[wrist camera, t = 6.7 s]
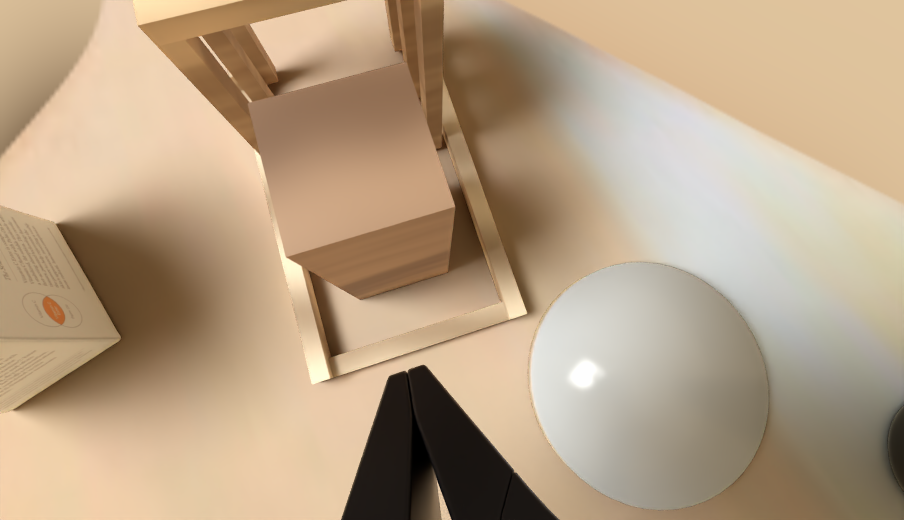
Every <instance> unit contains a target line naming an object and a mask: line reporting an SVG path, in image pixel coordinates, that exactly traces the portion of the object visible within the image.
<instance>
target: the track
mask: <svg viewBox="0 0 904 520" xmlns="http://www.w3.org/2000/svg"><path fill="white" fill-rule="evenodd" d="M227 71H228V69H227ZM228 75H229V77H230V78H231V79H232V80H233V82H234V83H235V84H236V86H237V87H238V88H239V89H240V91H241V92H242V93H243V95H244V96H245V97H246V98H247V100H248V101H249V102H252V101H251V99H250V98H249V97H248V95H247V94H246V93H245V91H244V90H243V89H242V88H241V86H240V85H239V84H238V82H237V81H236V80H235V78H234V77H233V76H232V75H231V73H230V72H229V71H228ZM442 134H443V137H444V139H445V142H446V145H447V148H448V151H449V154H450V157H451V160H452V163H453V165H454V168H455V171H456V174H457V177H458V180H459V183H460V186H461V189H462V192H463V194H464V197H465V200H466V203H467V206H468V209H469V212H470V215H471V218H472V220H473V223H474V226H475V229H476V232H477V235H478V238H479V241H480V244H481V246H482V249H483V252H484V255H485V258H486V261H487V264H488V267H489V270H490V272H491V275H492V278H493V281H494V284H495V287H496V290H497V293H498V296H499V298H500V301H501V302H500V303H497V304H494V305H491V306H488V307H485V308H482V309H479V310H476V311H473V312H470V313H466V314H463V315H460V316H457V317H454V318H451V319H448V320H445V321H442V322H439V323H436V324H433V325H429V326H426V327H423V328H420V329H417V330H414V331H411V332H408V333H405V334H402V335H399V336H395V337H392V338H389V339H386V340H383V341H380V342H377V343H374V344H371V345H368V346H365V347H362V348H358V349H355V350H352V351H349V352H346V353H343V354H340V355H337V356H334V357H331V355H330V351H329V348H328V344H327V340H326V336H325V332H324V328H323V324H322V320H321V317H320V313H319V309H318V305H317V301H316V297H315V293H314V290H313V286H312V282H311V278H310V274H309V270H307V269H305V268H304V267H302V266H300V265H298V264H297V263H295V262H293V261H291V260H290V259H288V258H286V256H285V252H284V248H283V244H282V240H281V236H280V232H279V228H278V224H277V220H276V216H275V212H274V208H273V204H272V200H271V196H270V192H269V188H268V184H267V180H266V176H265V172H264V168H263V164H262V160H261V156H260V155H259V153H258V152H257V151H256V150H255V149H254V151H255V155H256V159H257V163H258V167H259V171H260V175H261V180H262V184H263V188H264V192H265V196H266V200H267V204H268V208H269V212H270V216H271V220H272V224H273V228H274V232H275V236H276V240H277V244H278V248H279V252H280V256H281V261H282V265H283V269H284V273H285V277H286V281H287V285H288V289H289V293H290V297H291V301H292V305H293V309H294V313H295V317H296V321H297V325H298V329H299V333H300V338H301V342H302V346H303V350H304V354H305V358H306V362H307V366H308V370H309V374H310V378H311V382H312V384H315V383H318V382H321V381H325V380H328V379H331V378H334V377H337V376H340V375H343V374H346V373H349V372H352V371H355V370H358V369H361V368H364V367H367V366H370V365H373V364H376V363H379V362H382V361H385V360H388V359H391V358H394V357H398V356H401V355H404V354H407V353H410V352H413V351H416V350H419V349H422V348H425V347H428V346H431V345H434V344H437V343H440V342H443V341H446V340H449V339H452V338H455V337H458V336H461V335H464V334H467V333H470V332H474V331H477V330H480V329H483V328H486V327H489V326H492V325H495V324H498V323H501V322H504V321H507V320H510V319H513V318H516V317H519V316H522V315H525V314H527V312H526V309H525V306H524V303H523V300H522V298H521V295H520V292H519V289H518V286H517V283H516V281H515V278H514V275H513V272H512V269H511V267H510V264H509V261H508V258H507V255H506V253H505V250H504V247H503V244H502V241H501V239H500V236H499V233H498V230H497V227H496V225H495V222H494V219H493V216H492V213H491V211H490V208H489V205H488V202H487V199H486V197H485V194H484V191H483V188H482V185H481V183H480V180H479V177H478V174H477V171H476V169H475V166H474V163H473V160H472V157H471V155H470V152H469V149H468V146H467V143H466V140H465V138H464V135H463V132H462V129H461V126H460V124H459V121H458V118H457V115H456V112H455V110H454V107H453V104H452V101H451V98H450V96H449V93H448V90H447V87H446V84H445V82H444V79H443V101H442Z"/></svg>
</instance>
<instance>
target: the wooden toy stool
mask: <svg viewBox="0 0 904 520" xmlns="http://www.w3.org/2000/svg"><path fill="white" fill-rule="evenodd" d="M341 1H345V0H133V5H134V10H135V15H136V20H137V25H138V26H139V27H140V28H141V30H142V31H143V32H144V33H145V34H146V35H147V36H148V37H149V38H150V39H151V40H152V41H153V42H154V43H155V44H156V45H157V46H158V48H159V49H160V50H161V51H162V52H163V53H164V54H165V55H166V56H167V57H168V58H169V59H170V60H171V61H172V62H173V63H174V64H175V66H176V67H177V68H178V69H179V70H180V71H181V72H182V73H183V74H184V75H185V76H186V77H187V78H188V79H189V80H190V81H191V82H192V84H193V85H194V86H195V87H196V88H197V89H198V90H199V91H200V92H201V93H202V94H203V95H204V96H205V97H206V98H207V99H208V101H209V102H210V103H211V104H212V105H213V106H214V107H215V108H216V109H217V110H218V111H219V112H220V113H221V114H222V115H223V116H224V117H225V119H226V120H227V121H228V122H229V123H230V124H231V125H232V126H233V127H234V128H235V129H236V130H237V131H238V132H239V133H240V134H241V135H242V137H243V138H244V139H245V140H246V141H247V142H248V143H249V144H250V145H251V146H252V147H253V148H254V149H255V150H256V151H257V152H258V153H259V155H260V152H259V148H258V144H257V140H256V136H255V132H254V128H253V124H252V120H251V116H250V112H249V108H248V104H247V103H250V102H249V101H248V100H247V98H246V97H245V96H244V95H243V93H242V92H241V91H240V89H239V88H238V87H237V86H236V84H235V83H234V82H233V80H232V79H231V78H230V77H229V75H228V74H227V73H226V71H225V70H224V69H223V68H222V66H221V65H220V64H219V63H218V61H217V60H216V59H215V57H214V56H213V55H212V54H211V52H210V51H209V50H208V48H207V47H206V46H205V45H204V43H203V42H202V41H201V40H200V38H199V37H198V36H202V37H203V38H204V39H205V41H206V42H207V43H208V45H209V46H210V47H211V48H212V50H213V51H214V52H215V54H216V55H217V56H218V58H219V59H220V60H221V62H222V63H223V64H224V65H225V67H226V68H227V69H228V71H229V72H230V73H231V75H232V76H233V77H234V78H235V80H236V81H237V82H238V84H239V85H240V86H241V88H242V89H243V90H244V91H245V93H246V94H247V95H248V97H249V98H250V99H251V101H252V102H254V101H258V100H262V99H265V98H269V97H273V96H274V95H273V93H272V92H271V90H270V89H269V87H268V86H267V85H268V84H272V83H276V82H279V81H278V77H277V73H276V69H275V67H274V65H273V63H272V62H271V60H270V58H269V56H268V55H267V53H266V51H265V50H264V48H263V46H262V45H261V43H260V41H259V40H258V38H257V36H256V35H255V33H254V31H253V29H252V28H251V26H250V24H251V23H255V22H259V21H263V20H267V19H272V18H276V17H280V16H284V15H288V14H292V13H296V12H300V11H304V10H308V9H313V8H317V7H321V6H325V5H329V4H333V3H337V2H341ZM385 5H386V11H387V18H388V24H389V30H390V37H391V40H392V43H393V46H394V49H395V51H399V50H402V52H403V60H404V62H406V63H407V66H408V69H409V72H410V74H411V77H412V80H413V83H414V86H415V89H416V92H417V95H418V98H421V107H422V110H423V113H424V116H425V119H426V122H427V124H428V127H429V130H430V133H431V136H432V139H433V142H434V145H435V148H436V149H439V148H442V101H443V20H444V0H385Z"/></svg>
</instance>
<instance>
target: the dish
mask: <svg viewBox="0 0 904 520" xmlns="http://www.w3.org/2000/svg"><path fill="white" fill-rule="evenodd" d="M528 386H529V393H530V398H531V403H532V407H533V410H534V413H535V416H536V419H537V421H538V424H539V426H540V428H541V430H542V432H543V434H544V436H545V437H546V439H547V441H548V442H549V444H550V446H551V447H552V449H553V450H554V451H555V452H556V454H557V455H558V456H559V457H560V458H561V460H562V461H563V462H564V463H565V464H566V465H567V466H568V467H569V468H570V469H571V470H572V471H573V472H575V473H576V474H577V475H578V476H579V477H580V478H581V479H582V480H583V481H585V482H586V483H587V484H589V485H590V486H591V487H593V488H594V489H595V490H597V491H599V492H600V493H602V494H604V495H606V496H608V497H609V498H611V499H614V500H616V501H619V502H621V503H624V504H626V505H630V506H634V507H638V508H642V509H651V510H676V509H681V508H686V507H691V506H694V505H697V504H699V503H702V502H705V501H707V500H709V499H711V498H713V497H714V496H716V495H718V494H720V493H721V492H723V491H724V490H725V489H726V488H728V487H729V486H730V485H732V484H733V483H734V482H735V481H736V480H737V479H738V478H739V477H740V476H741V475H742V473H743V472H744V471H745V470H746V468H747V467H748V465H749V464H750V462H751V461H752V460H753V458H754V456H755V454H756V452H757V450H758V448H759V446H760V443H761V440H762V437H763V434H764V431H765V427H766V422H767V417H768V406H769V390H768V380H767V374H766V369H765V365H764V361H763V358H762V355H761V352H760V349H759V347H758V345H757V342H756V340H755V338H754V336H753V334H752V332H751V331H750V329H749V327H748V325H747V324H746V322H745V321H744V319H743V318H742V317H741V315H740V314H739V313H738V311H737V310H736V309H735V308H734V307H733V306H732V305H731V304H730V302H729V301H728V300H727V299H726V298H725V297H723V296H722V295H721V294H720V293H719V292H718V291H716V290H715V289H714V288H713V287H711V286H710V285H708V284H707V283H705V282H704V281H702V280H701V279H699V278H697V277H695V276H693V275H691V274H689V273H687V272H684V271H682V270H679V269H676V268H674V267H670V266H666V265H661V264H655V263H646V262H636V263H624V264H618V265H613V266H610V267H607V268H603V269H601V270H598V271H596V272H594V273H592V274H590V275H587V276H585V277H583V278H581V279H580V280H578V281H576V282H575V283H573V284H572V285H570V286H569V287H568V288H566V289H565V290H564V291H563V292H562V293H561V294H559V295H558V297H557V298H556V299H555V300H554V301H553V302H552V303H551V304H550V306H549V307H548V309H547V310H546V312H545V313H544V315H543V316H542V318H541V320H540V322H539V324H538V326H537V328H536V331H535V334H534V337H533V340H532V343H531V348H530V353H529V360H528Z"/></svg>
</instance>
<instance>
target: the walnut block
mask: <svg viewBox="0 0 904 520" xmlns="http://www.w3.org/2000/svg"><path fill="white" fill-rule="evenodd" d="M247 104H248V108H249V112H250V116H251V120H252V124H253V128H254V132H255V136H256V140H257V144H258V148H259V152H260V156H261V160H262V164H263V168H264V172H265V176H266V180H267V184H268V188H269V192H270V196H271V200H272V204H273V208H274V212H275V216H276V220H277V224H278V228H279V232H280V236H281V240H282V244H283V248H284V252H285V256H286V258H288V259H290V260H291V261H293V262H295V263H297V264H298V265H300V266H302V267H304V268H305V269H307V270H309V271H311V272H312V273H314V274H316V275H318V276H319V277H321V278H323V279H325V280H326V281H328V282H330V283H332V284H333V285H335V286H337V287H339V288H340V289H342V290H344V291H346V292H347V293H349V294H351V295H353V296H354V297H356V298H358V299H360V300H361V299H365V298H368V297H371V296H374V295H377V294H380V293H384V292H387V291H390V290H393V289H396V288H400V287H403V286H406V285H409V284H412V283H416V282H419V281H422V280H425V279H428V278H432V277H435V276H438V275H441V274H444V273H448V267H449V258H450V249H451V241H452V232H453V223H454V214H455V204H454V201H453V198H452V195H451V192H450V189H449V186H448V183H447V180H446V177H445V175H444V172H443V169H442V166H441V163H440V160H439V157H438V154H437V151H436V148H435V145H434V142H433V139H432V136H431V133H430V130H429V127H428V124H427V122H426V119H425V116H424V113H423V110H422V107H421V104H420V101H419V98H418V95H417V92H416V89H415V86H414V83H413V80H412V77H411V74H410V72H409V69H408V66H407V63H406V62H403V63H399V64H395V65H392V66H388V67H384V68H380V69H376V70H372V71H369V72H365V73H361V74H357V75H353V76H349V77H346V78H342V79H338V80H334V81H330V82H327V83H323V84H319V85H315V86H311V87H307V88H304V89H300V90H296V91H292V92H288V93H285V94H281V95H277V96H273V97H269V98H265V99H262V100H258V101H254V102H250V103H247Z"/></svg>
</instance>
